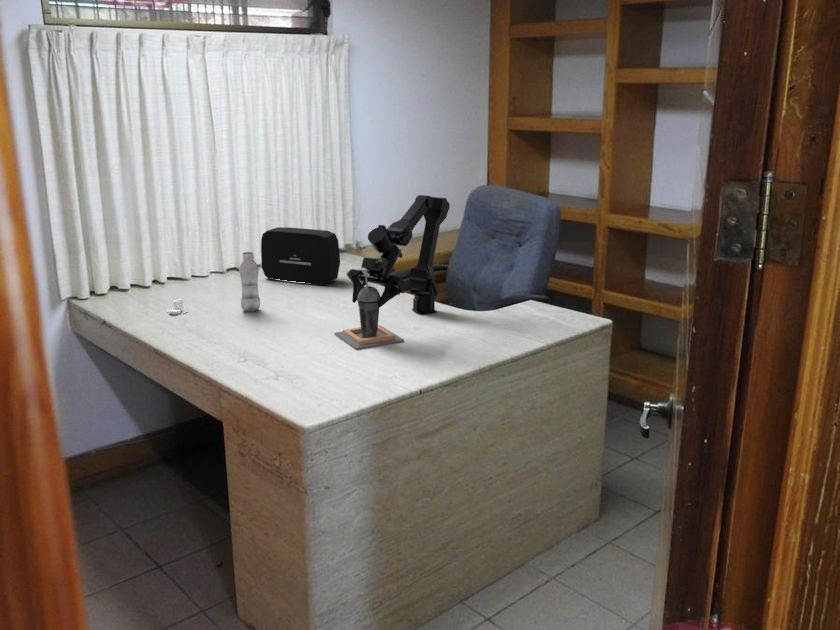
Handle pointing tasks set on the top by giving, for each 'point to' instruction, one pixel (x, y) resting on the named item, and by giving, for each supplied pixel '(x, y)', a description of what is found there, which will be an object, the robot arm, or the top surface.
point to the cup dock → (359, 342)
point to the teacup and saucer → (177, 307)
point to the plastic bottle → (249, 283)
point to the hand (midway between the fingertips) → (365, 304)
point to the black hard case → (300, 255)
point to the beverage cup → (368, 310)
